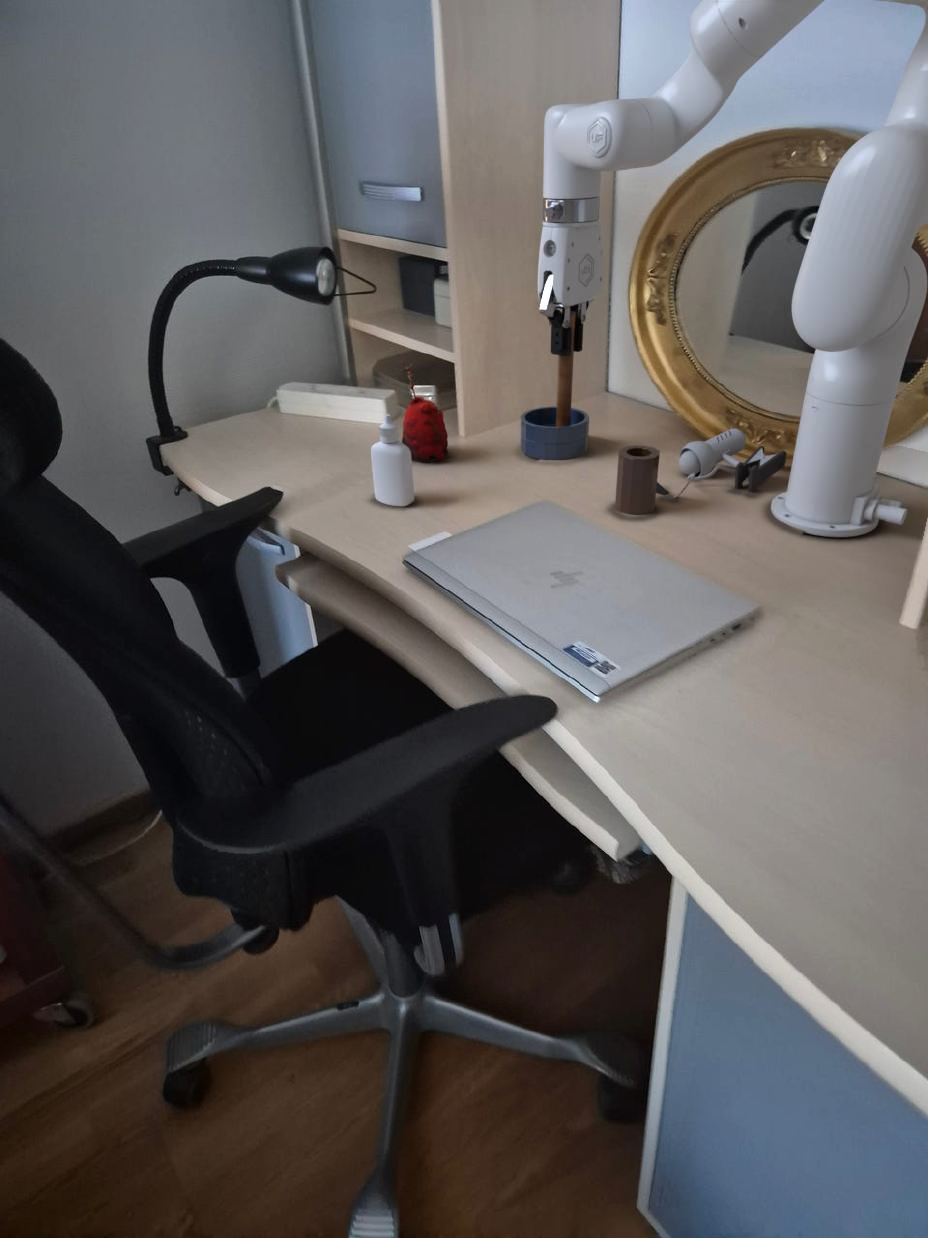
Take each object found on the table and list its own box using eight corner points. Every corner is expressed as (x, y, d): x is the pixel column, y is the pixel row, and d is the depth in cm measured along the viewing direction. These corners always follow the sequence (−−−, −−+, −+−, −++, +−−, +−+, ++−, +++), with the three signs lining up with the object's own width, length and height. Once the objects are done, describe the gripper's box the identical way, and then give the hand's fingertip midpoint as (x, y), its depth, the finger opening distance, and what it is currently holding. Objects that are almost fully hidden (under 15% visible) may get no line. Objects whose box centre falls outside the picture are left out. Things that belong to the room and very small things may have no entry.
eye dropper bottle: (401, 490, 114) (394, 406, 108) (417, 504, 110) (411, 417, 103) (372, 497, 112) (363, 412, 106) (388, 511, 108) (380, 423, 102)
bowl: (600, 448, 125) (602, 413, 122) (562, 468, 119) (563, 432, 116) (546, 435, 131) (546, 402, 128) (507, 454, 124) (506, 419, 121)
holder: (660, 508, 106) (666, 450, 101) (641, 522, 102) (646, 462, 98) (627, 499, 108) (631, 442, 104) (607, 512, 105) (611, 453, 101)
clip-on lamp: (686, 533, 106) (791, 477, 110) (686, 493, 101) (795, 436, 106) (630, 495, 114) (730, 444, 118) (628, 456, 110) (731, 405, 114)
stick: (573, 427, 124) (578, 311, 115) (565, 431, 123) (570, 314, 114) (561, 424, 126) (565, 309, 116) (553, 428, 124) (557, 312, 115)
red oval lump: (455, 460, 123) (451, 360, 115) (411, 468, 121) (404, 367, 113) (438, 445, 129) (433, 349, 121) (396, 452, 127) (388, 355, 119)
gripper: (560, 220, 101) (556, 368, 111) (625, 207, 111) (617, 344, 121) (512, 217, 105) (512, 361, 115) (579, 205, 116) (574, 338, 125)
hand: (566, 351), depth 118 cm, fingers closed on stick, 2 cm apart
